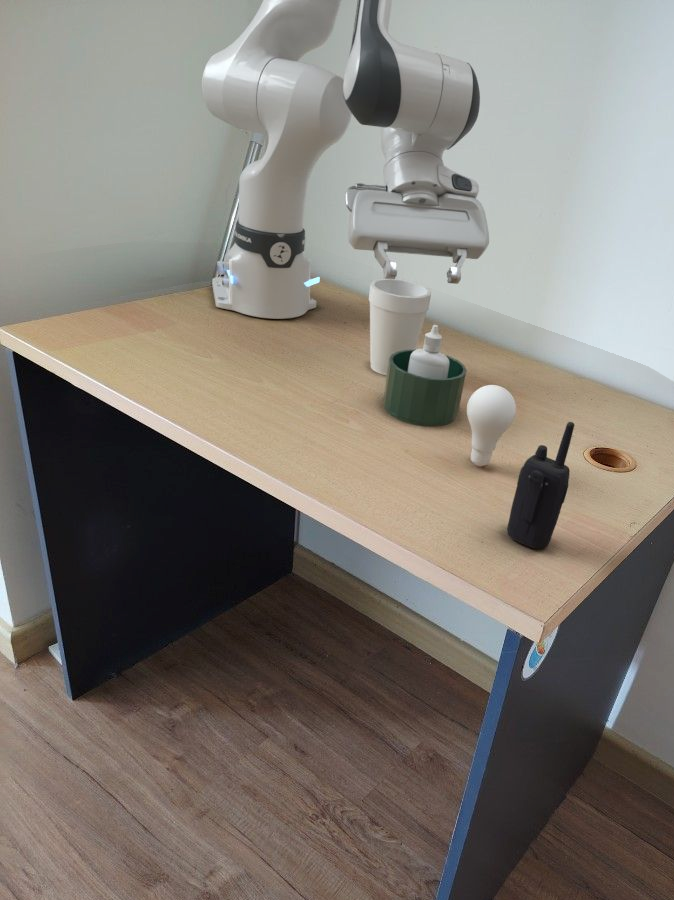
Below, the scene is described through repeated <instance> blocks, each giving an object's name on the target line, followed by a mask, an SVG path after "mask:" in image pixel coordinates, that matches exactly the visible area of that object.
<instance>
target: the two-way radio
mask: <svg viewBox="0 0 674 900" xmlns="http://www.w3.org/2000/svg"><path fill="white" fill-rule="evenodd" d="M574 428H575V423H574V422H573V421H568V422H567V423H566V426H565V429H564V432H563V435H562V438H561V440H560V444H559V447H558V451H557V453H556V457H555V459H552V458H550V457H548V446H546V445H543V444H541V445H538V446H537V448H536V450H535V452H534V454H533V455H532V456H530V457H528V458H527V460H526V461H525V462H524V463H523V466H522V467H521V469H520V471H519V475H518V479H517V483H516V489H515V493H514V496H513V499H512V503H511V507H510V508H511V509H510V514H509V517H508V523H507V527H506V531H507V535H508V537H509V538H511V539H512V540H514V541H516V542H518V543H519V544H522V545H524V546H526V547H528V548H532V549H536V550H540V549H546V548H548V547H549V545H550V542H551V540H552V537H553V534H554V532H555V531H554V530H555V528H556V526H557V523H558V520H559V517H560V514H561V510H562V507H563V505H564V503H565V500H566V497H567V493H568V489H569V485H570V484H569V482H570V473H571V472H570V471H571V470H570V468H569V466H568V465H566V464H565V463H566V460H567V456H568V453H569V449H570V445H571V442H572V441H571V440H572V438H573V433H574Z"/></svg>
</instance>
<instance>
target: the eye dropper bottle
mask: <svg viewBox="0 0 674 900" xmlns="http://www.w3.org/2000/svg"><path fill="white" fill-rule="evenodd" d="M423 339H424V340H423V346H422V348H416V350H415V351H413V352H412V354H411V356H410V360H409V366H408V373H411V374H414V375H417V376H422V377H427V378H437V379H444V378H447V376H448V370H449V359H448V358H447V357H446V356H445V355H446V354H444V353H443V352H441V348H442V343H443V335H442V334H440V333H439V325H437V324H433V325H432V327H431V329H430V331H429V332H426V333H425V334H424V338H423Z"/></svg>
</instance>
